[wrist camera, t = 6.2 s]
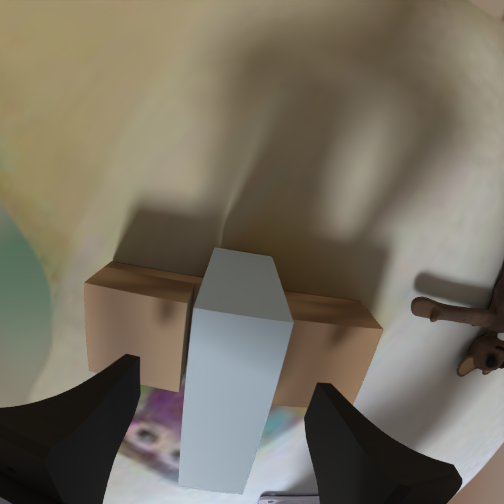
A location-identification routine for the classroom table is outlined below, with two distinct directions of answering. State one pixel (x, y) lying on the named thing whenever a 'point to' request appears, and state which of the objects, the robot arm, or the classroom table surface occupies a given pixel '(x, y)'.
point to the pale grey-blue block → (231, 369)
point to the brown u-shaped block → (179, 329)
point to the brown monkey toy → (496, 319)
